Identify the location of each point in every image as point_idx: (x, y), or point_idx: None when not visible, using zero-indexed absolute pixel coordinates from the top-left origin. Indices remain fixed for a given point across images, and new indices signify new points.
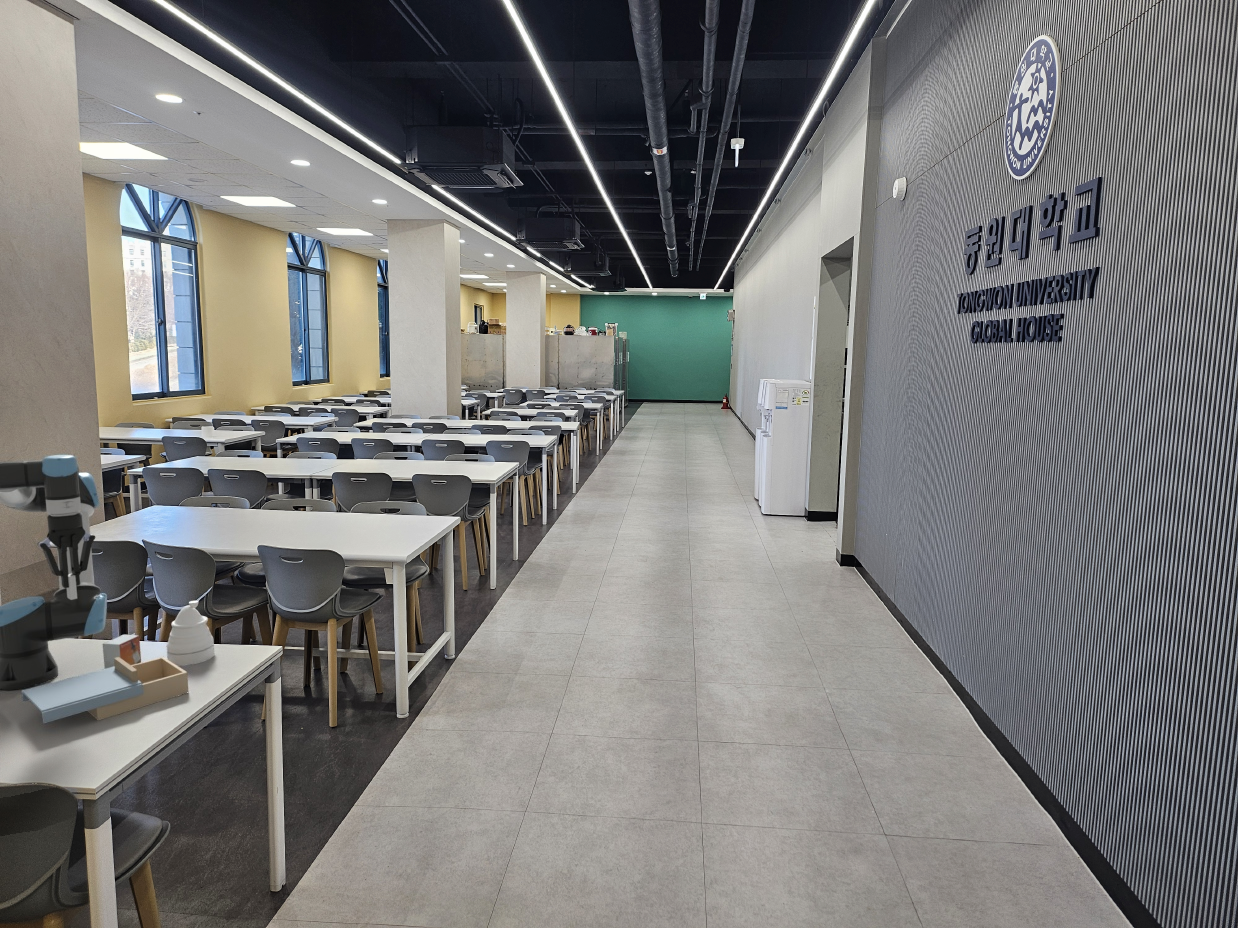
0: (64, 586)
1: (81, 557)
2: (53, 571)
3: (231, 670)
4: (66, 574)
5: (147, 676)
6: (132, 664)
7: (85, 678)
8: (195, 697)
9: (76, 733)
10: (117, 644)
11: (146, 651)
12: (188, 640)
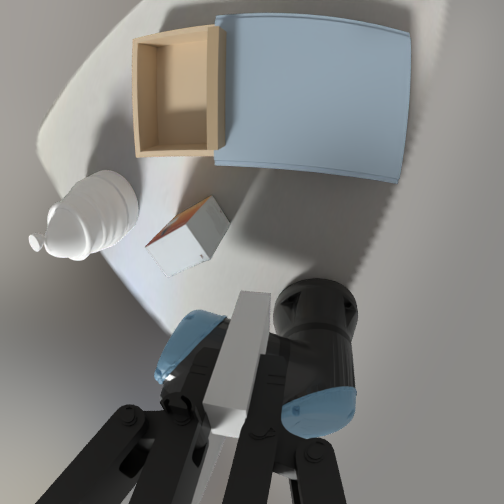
0: (283, 365)
1: (120, 493)
2: (335, 475)
3: (83, 99)
4: (257, 430)
5: (179, 145)
6: (184, 213)
7: (291, 133)
8: (156, 18)
9: (352, 15)
10: (188, 227)
11: (155, 280)
12: (89, 191)
